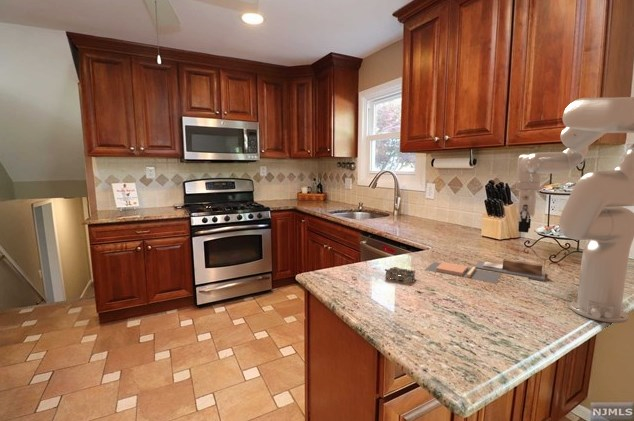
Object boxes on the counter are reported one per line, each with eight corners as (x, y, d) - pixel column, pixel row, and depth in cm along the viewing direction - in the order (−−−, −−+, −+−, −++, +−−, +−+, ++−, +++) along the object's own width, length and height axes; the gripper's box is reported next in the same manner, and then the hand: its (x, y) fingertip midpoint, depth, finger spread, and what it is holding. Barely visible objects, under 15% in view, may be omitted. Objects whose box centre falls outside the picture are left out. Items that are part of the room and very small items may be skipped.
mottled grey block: (383, 279, 120) (383, 268, 120) (391, 273, 126) (391, 264, 126) (409, 285, 114) (409, 274, 113) (417, 279, 120) (417, 269, 119)
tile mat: (495, 284, 112) (496, 280, 112) (424, 270, 128) (424, 266, 128) (500, 274, 123) (501, 270, 122) (434, 263, 138) (434, 259, 138)
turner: (542, 272, 122) (542, 263, 122) (541, 276, 117) (542, 267, 117) (485, 263, 134) (485, 255, 134) (482, 266, 130) (483, 258, 129)
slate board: (544, 281, 115) (544, 278, 115) (474, 269, 130) (474, 266, 130) (545, 273, 123) (545, 271, 123) (478, 263, 138) (478, 260, 137)
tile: (462, 272, 120) (436, 267, 126) (462, 275, 121) (435, 270, 127) (467, 266, 128) (442, 261, 134) (467, 268, 128) (442, 264, 134)
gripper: (538, 187, 110) (534, 234, 112) (540, 185, 124) (537, 227, 126) (513, 187, 115) (510, 232, 117) (518, 185, 128) (515, 225, 130)
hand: (524, 230), depth 121 cm, fingers open, 9 cm apart
